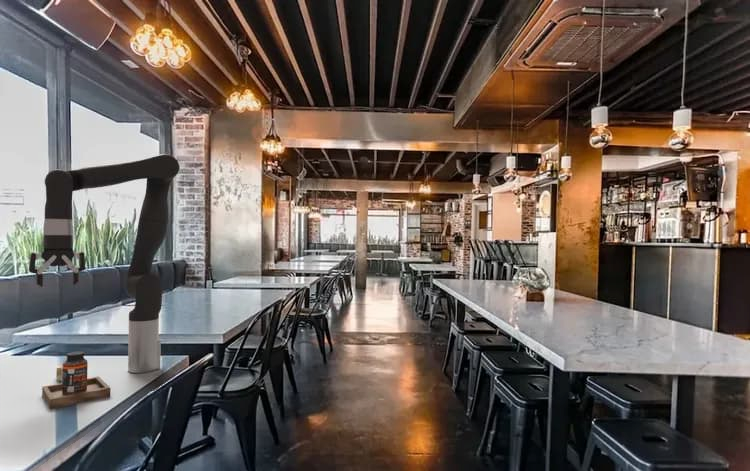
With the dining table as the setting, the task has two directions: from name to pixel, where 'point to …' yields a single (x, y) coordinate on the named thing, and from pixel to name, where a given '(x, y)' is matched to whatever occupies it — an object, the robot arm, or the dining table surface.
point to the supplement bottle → (74, 374)
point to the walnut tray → (93, 392)
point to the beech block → (59, 372)
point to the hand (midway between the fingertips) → (57, 285)
